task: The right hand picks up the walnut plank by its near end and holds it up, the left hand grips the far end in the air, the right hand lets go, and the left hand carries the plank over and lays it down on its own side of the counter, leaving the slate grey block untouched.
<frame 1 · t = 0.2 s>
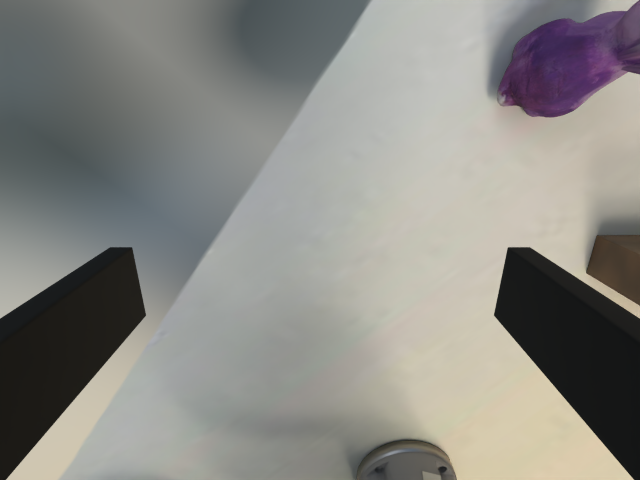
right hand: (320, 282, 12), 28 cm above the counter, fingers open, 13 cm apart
figurine: (546, 63, 35), on the counter
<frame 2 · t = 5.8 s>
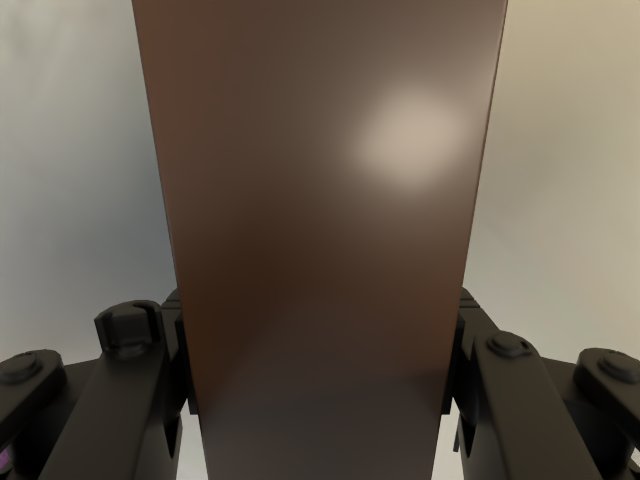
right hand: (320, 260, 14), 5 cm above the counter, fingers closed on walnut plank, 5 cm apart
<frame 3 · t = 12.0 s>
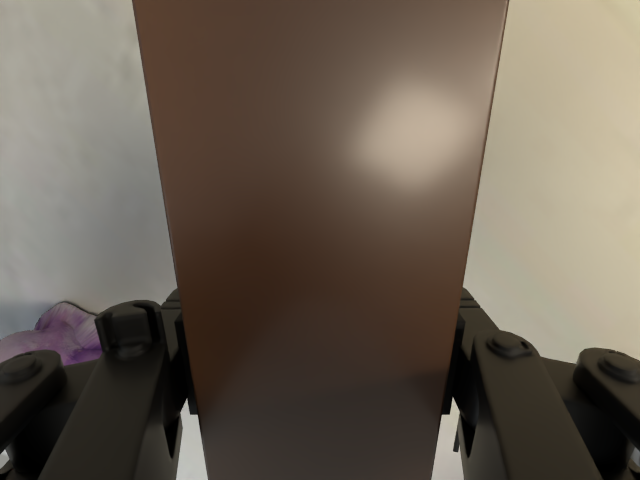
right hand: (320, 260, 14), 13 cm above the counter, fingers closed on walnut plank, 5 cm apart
figurine: (85, 345, 31), on the counter
when the right hand's fingers open (13 cm above the counter, at t = 12.9 s): walnut plank stays where it is, held by the left hand.
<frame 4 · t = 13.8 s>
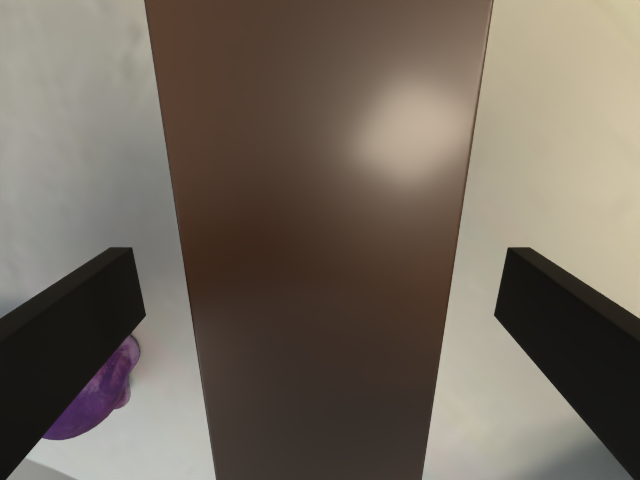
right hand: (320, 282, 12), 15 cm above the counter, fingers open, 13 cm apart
figurine: (86, 341, 31), on the counter
when the left hand's fingers open (6 cm above the counter, at t = 21.9 s): walnut plank stays where it is, on the counter.
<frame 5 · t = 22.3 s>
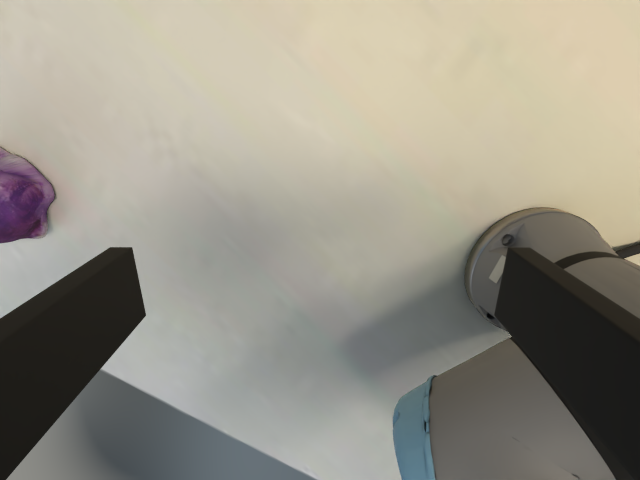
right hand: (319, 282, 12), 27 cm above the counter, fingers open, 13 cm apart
figurine: (11, 186, 38), on the counter
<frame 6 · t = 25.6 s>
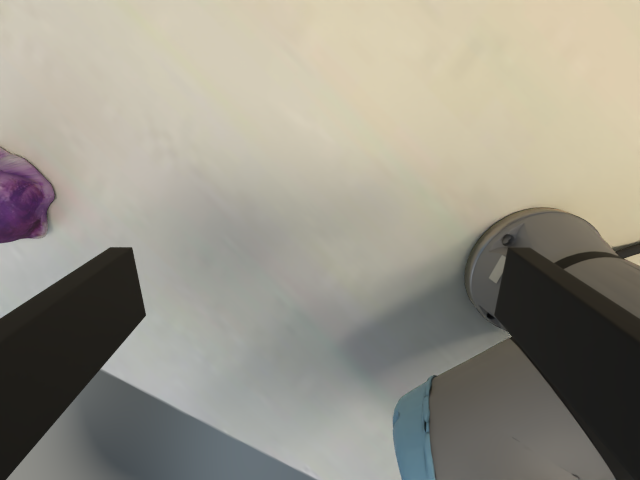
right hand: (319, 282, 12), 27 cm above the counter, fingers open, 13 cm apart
figurine: (11, 186, 38), on the counter
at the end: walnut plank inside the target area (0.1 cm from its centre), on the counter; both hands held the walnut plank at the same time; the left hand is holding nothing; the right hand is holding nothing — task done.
